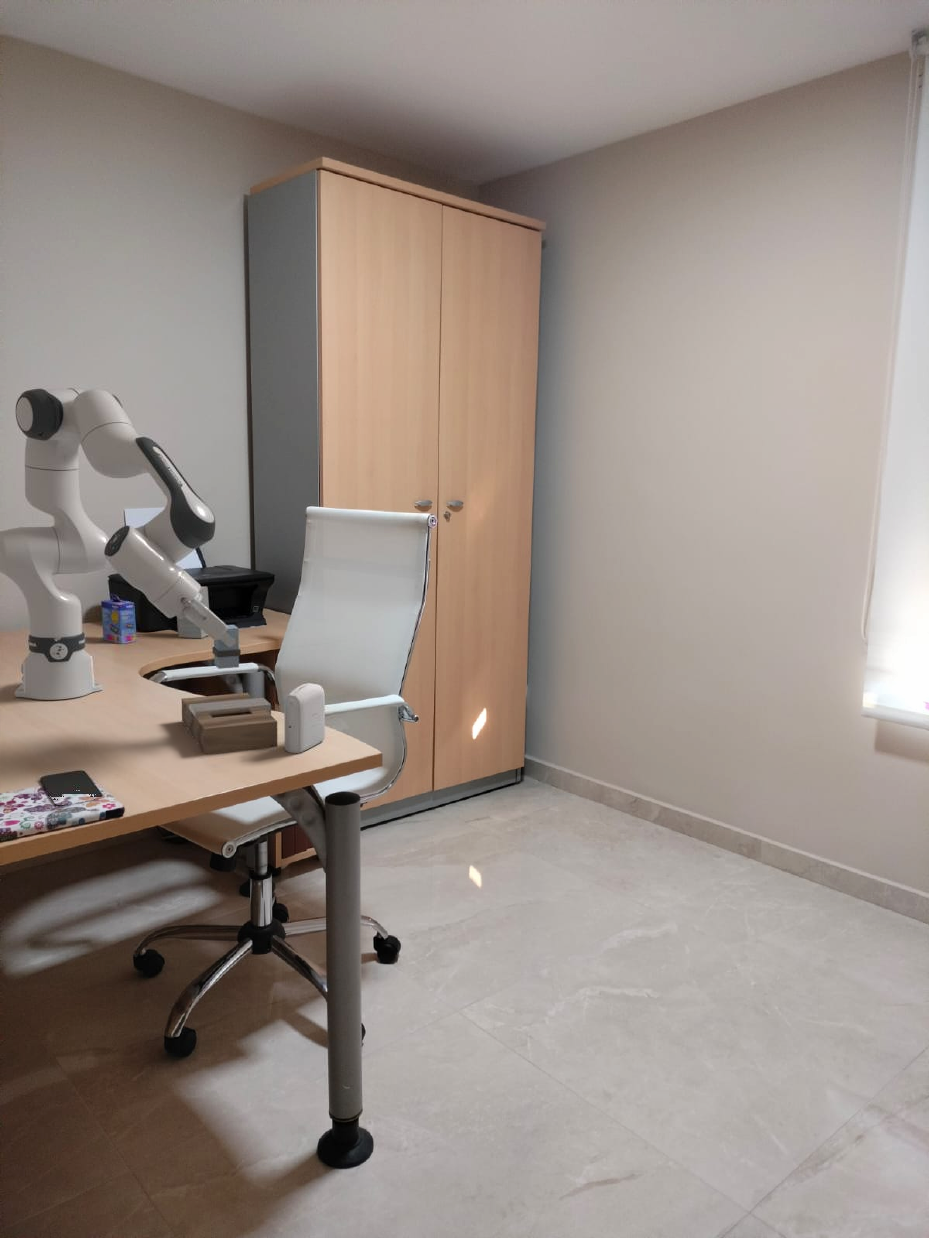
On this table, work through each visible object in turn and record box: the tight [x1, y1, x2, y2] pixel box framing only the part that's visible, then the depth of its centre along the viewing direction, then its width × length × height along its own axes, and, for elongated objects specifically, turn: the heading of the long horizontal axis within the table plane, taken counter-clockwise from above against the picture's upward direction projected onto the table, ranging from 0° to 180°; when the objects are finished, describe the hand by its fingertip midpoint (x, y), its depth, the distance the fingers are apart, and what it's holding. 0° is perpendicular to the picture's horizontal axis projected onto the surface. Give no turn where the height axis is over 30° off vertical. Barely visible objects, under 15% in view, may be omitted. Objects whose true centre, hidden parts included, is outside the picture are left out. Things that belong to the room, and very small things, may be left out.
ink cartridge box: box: [100, 593, 137, 645], centre depth 273 cm, size 10×6×14 cm, turn 54°
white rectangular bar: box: [189, 697, 272, 717], centre depth 184 cm, size 6×15×4 cm, turn 117°
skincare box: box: [176, 586, 210, 639], centre depth 283 cm, size 8×7×16 cm
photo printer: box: [283, 683, 326, 754], centre depth 177 cm, size 10×4×12 cm, turn 158°
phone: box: [39, 769, 104, 800], centre depth 151 cm, size 7×1×15 cm
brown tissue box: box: [181, 692, 278, 755], centre depth 184 cm, size 24×14×5 cm, turn 27°
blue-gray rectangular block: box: [211, 624, 242, 670], centre depth 182 cm, size 5×5×8 cm
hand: (229, 641), depth 182 cm, fingers closed on blue-gray rectangular block, 4 cm apart
